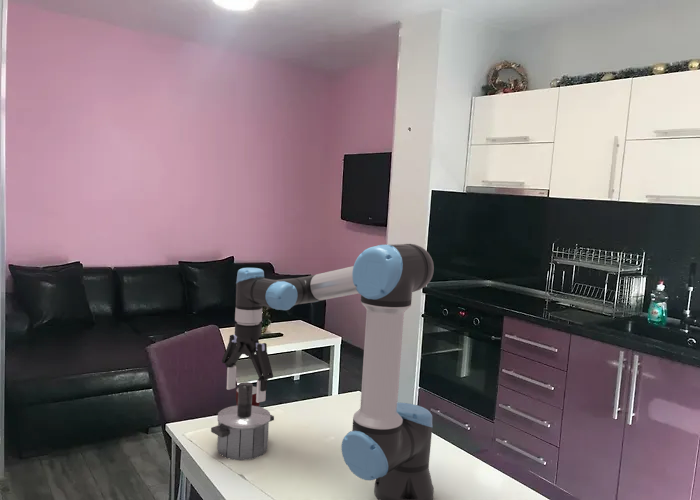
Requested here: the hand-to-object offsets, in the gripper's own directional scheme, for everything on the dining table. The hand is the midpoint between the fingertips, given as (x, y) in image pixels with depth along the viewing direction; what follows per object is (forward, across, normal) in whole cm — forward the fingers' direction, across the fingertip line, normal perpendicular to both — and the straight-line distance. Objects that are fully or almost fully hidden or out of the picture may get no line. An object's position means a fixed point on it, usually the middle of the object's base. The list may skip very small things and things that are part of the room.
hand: (245, 395), depth 165 cm
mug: (+16, +15, -13) cm, 26 cm away
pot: (+16, 0, 0) cm, 16 cm away
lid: (+9, 0, 0) cm, 9 cm away
